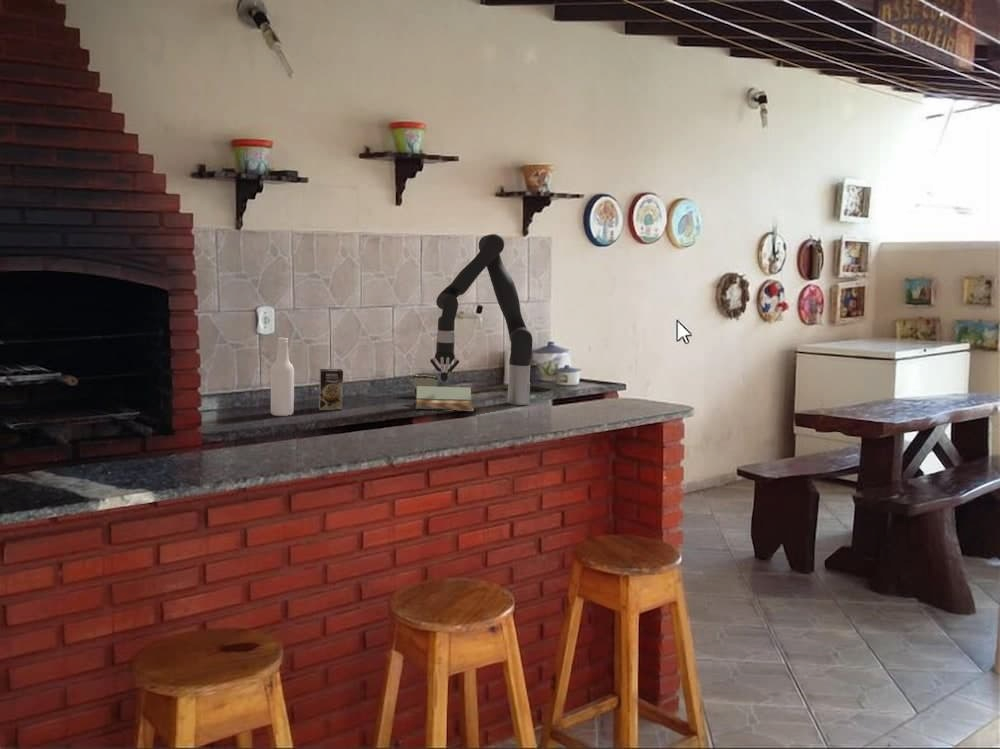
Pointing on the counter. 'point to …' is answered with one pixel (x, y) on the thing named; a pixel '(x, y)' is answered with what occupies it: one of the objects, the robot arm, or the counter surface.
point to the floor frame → (446, 404)
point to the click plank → (443, 393)
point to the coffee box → (330, 389)
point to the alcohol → (282, 381)
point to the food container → (424, 380)
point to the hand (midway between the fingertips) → (443, 381)
